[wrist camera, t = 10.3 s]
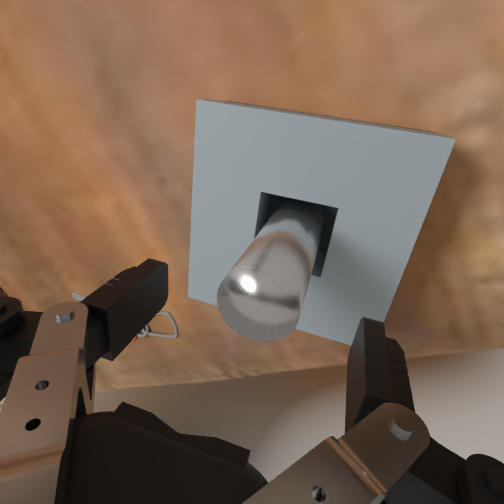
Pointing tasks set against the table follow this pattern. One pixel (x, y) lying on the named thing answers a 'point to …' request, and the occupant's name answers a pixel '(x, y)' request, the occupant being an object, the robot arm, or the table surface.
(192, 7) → the table surface
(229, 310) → the pin
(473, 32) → the table surface
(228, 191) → the bore block
